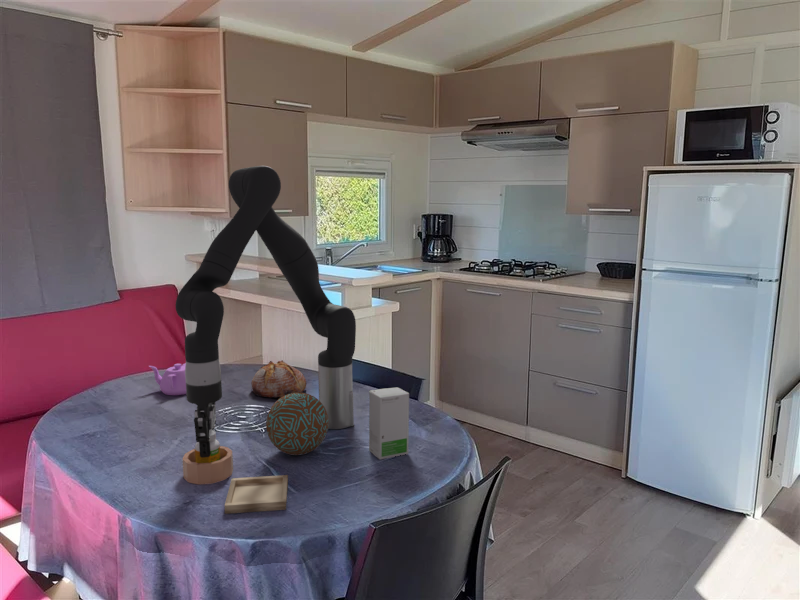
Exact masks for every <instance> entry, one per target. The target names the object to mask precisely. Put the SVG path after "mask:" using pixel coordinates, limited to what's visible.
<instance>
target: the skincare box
mask: <svg viewBox="0 0 800 600" xmlns="http://www.w3.org/2000/svg"><path fill="white" fill-rule="evenodd" d="M368 395H369V396H368V397H369V398H368V399H369V400H368V401H369V404H368V405H369V409H368V410H369V411H368V412H369V413H368V415H369V416H368V422H369V423H368V424H369V425H368V429H369V430H368V449H369V450H368V451H369V452H370V453H371V454H372V455H374V457H375V458H377V459H378V460H385V459H390V458H394V457H395V456H396V457H398V456H399V457H401V456H405V454H406V455H409V439H410V438H409V437H410V436H409V432H410V430H409V426H410V424H409V423H410V422H409V421H410V420H409V419H410V393H409V392H408V391H405V390H403V389H402V388H400V387H388V388H379V389H371V390H369V391H368ZM400 455H401V456H400Z"/></svg>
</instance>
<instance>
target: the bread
mask: <svg viewBox="0 0 800 600" xmlns="http://www.w3.org/2000/svg"><path fill="white" fill-rule="evenodd" d="M306 387H307V379H306V378H305V376H304V374H303V373H302V372H301V371H300V370H299V369H297V368H295V367H294V366H292V365H290V364H288V363H287V362H285V361H284V360H278V361H277V362H276V363H275V362H273V361H272V360H269V362H268V363H267V364H266V365H263V366H261V367H260V368H259V369H258V370H257V372H255V374H254V376H253V378H252V380H251V389H252V392H253V394H254V395H255V396H257V397H262V398H263V397H264V398H265V397H266V398H275V399H277V398H278V399H280V398H281V397H283V396H286V395H287V394H290V393H296V392H297V393H304V391H305V390H306Z"/></svg>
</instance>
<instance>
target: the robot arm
mask: <svg viewBox="0 0 800 600" xmlns="http://www.w3.org/2000/svg"><path fill="white" fill-rule="evenodd" d="M281 189H282V183H281V178H280V176H279V174H278V172H277V171H276V170H275V169H274V168H272V167H270V166H269V165H268V166H267V165H255V166H249V167H243V168H238V169H236V170H234V171H233V172H232V173H231V174H230V176H229V179H228V190H229V193H230V196H231V198H232V199H233V201H234V203H235V204H236V206H237V207H238V209H237V212H236V213H235V214H234V215H233V217H232V218H231V220H230V221H229V222H228V223H227V224H226V225H225V226H224V227H223V229H222V230H220V232H219V233H218V234H217V235H216V237H214V239H213V240H212V242H211V244H210V246H209V247H208V249H207V251H206V252H205V255H204V257H203V259H202V260H201V261H202V262H201V263H200V266H199V268H198V269H197V270H196V271H195V272H194V273H193V274H192V275H191V277H190V278H189V279H188V281H186V283H185V284H184V285H183V287H182V288H181V289H180V291H179V293H178V294H177V296H176V300H175V311H176V314H177V316H178V317H179V318H180V319H182V320H185V321H187V322H195V323H196V326H195V331H193V332H191V333H189V334H187V335H186V336H185V339H184V354H185V355H184V357H185V363H186V366H185V378H186V394H185V395H186V400H187V402H188V403H190V404H195V406H196V409H194V418H193V422H194V423H193V424H194V431H195V442H196V443H197V442H199V449H200V457H209V456H210V454H211V451H210V439H211V438H210V431H211V430H213V431H215V428H216V423H217V417H216V409H217V407H216V402H219V401H220V400H221V399H222V397H223V390H222V389H223V388H222V372H221V371H222V370H221V363H220V355H219V354H220V353H219V338H220V334H221V328H222V324H223V319H224V314H225V307H224V302H223V300H222V298H221V296H220V295H219V294H218V293H217V292H215V291H214V290H215V289H217V288H221V287H224V286H226V285H228V283H229V282H230V280H231V279H232V276H233V274H234V272H235V270H236V268H237V265H238V263H239V261H240V259H241V256H242V255H243V253H244V250H245V249H246V247H247V246H248V244H249V242H250V240H251V239H252V236H253V235H254V234H255V232H257V234H258V235H259V237H260V238H261V240H262V242H263V244H264V246H265V247H266V248H267V250H268V251H269V253H270V255H271V257H272V259H273V260H274V262H275V264H276V265H277V267H278V269H279V270H280V272H281V274H282V275H283V276H284V278H285V279H286V281H287V282H288V284H289V286H290V288H291V289H292V291H293V292H294V295H295V296H296V297H297V299H298V300H299V303H300V304H301V306H302V309H303V311H304V313H305V314H306V317H307V319H308V321H309V323H310V325H311V328H312V329H313V330H314V331H313V332H316V334H317V335H319V336H320V337H323V338H327V339H326V340H327V344H326V349H325V350H321V351H320V352H319V353H318V356H317V369H318V370H317V371H318V374H317V376H318V400H319V401H320V402H321V403H322V404H323V406H324V407H325V409H326V412H327V415H328V420H329V424H328V430H329V429H330V430H340V429H341V430H342V429H345V428H346V429H347V428H349V427H354V426H355V425H354V424H355V423H354V391H353V390H354V389H353V357H354V354H355V351H356V350H355V349H356V336H357V335H356V332H357V331H356V330H357V322H356V316H355V314H354V312H353V310H352V309H351V308H349V307H347V306H343V305H339V304H334V303H333V302H331V300H330V299H329V298H328V296H327V295H326V293H325V292H324V290H323V288H322V287H321V282H320V275H319V274H320V273H319V264H318V261H317V259H316V257H315V255H314V253H313V251H312V249H311V246H309V244H308V242H307V241H306V239H305V238H304V237H303V236H302V235H301V234H300V233H299V232H298V231H297V230H296V229H295V228H294V227H292V226H291V225H290V224H289V223H287V222H286V221H285V220H284V219H283V218H281V216H279V215H278V213H277V212H276V211H275V209H274V208H273V206H274V204H275V203H276V202H277V199H278V198H279V195H280V193H281ZM201 433H205V436H201Z"/></svg>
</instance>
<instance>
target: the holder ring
mask: <svg viewBox="0 0 800 600" xmlns="http://www.w3.org/2000/svg"><path fill="white" fill-rule="evenodd" d="M233 457H234V456H233V449H230V448H229V447H228V446H222V445H220V460H218V461H214V462H211V463H196V459H195V448H192V449H191V450H189V451H187V452H186V453H184V455H183V457H182V474H183V479H184V480H185V481H186V482H187V483H190V484H193V485H212V484H215V483H220V482H223V481H225V480H227V479H228V478H229V477H231V476H233V473H234V472H233V471H234V458H233Z"/></svg>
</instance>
